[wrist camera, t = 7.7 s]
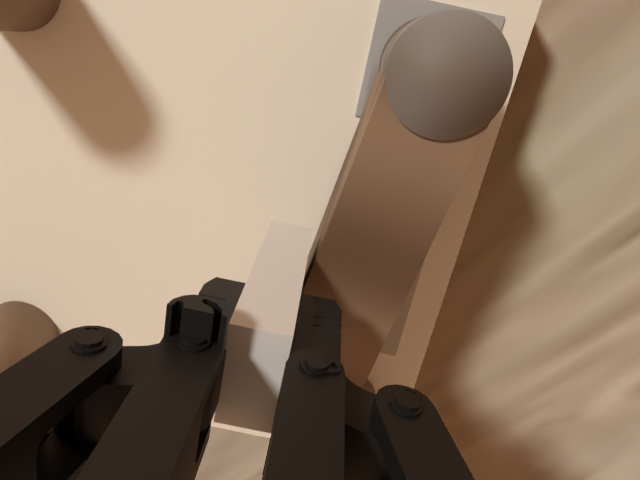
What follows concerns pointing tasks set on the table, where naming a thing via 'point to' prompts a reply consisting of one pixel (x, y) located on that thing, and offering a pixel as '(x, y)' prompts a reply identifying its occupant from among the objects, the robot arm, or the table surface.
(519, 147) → the table surface
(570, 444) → the table surface
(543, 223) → the table surface
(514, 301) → the table surface
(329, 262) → the folding leg
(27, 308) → the stool seat
